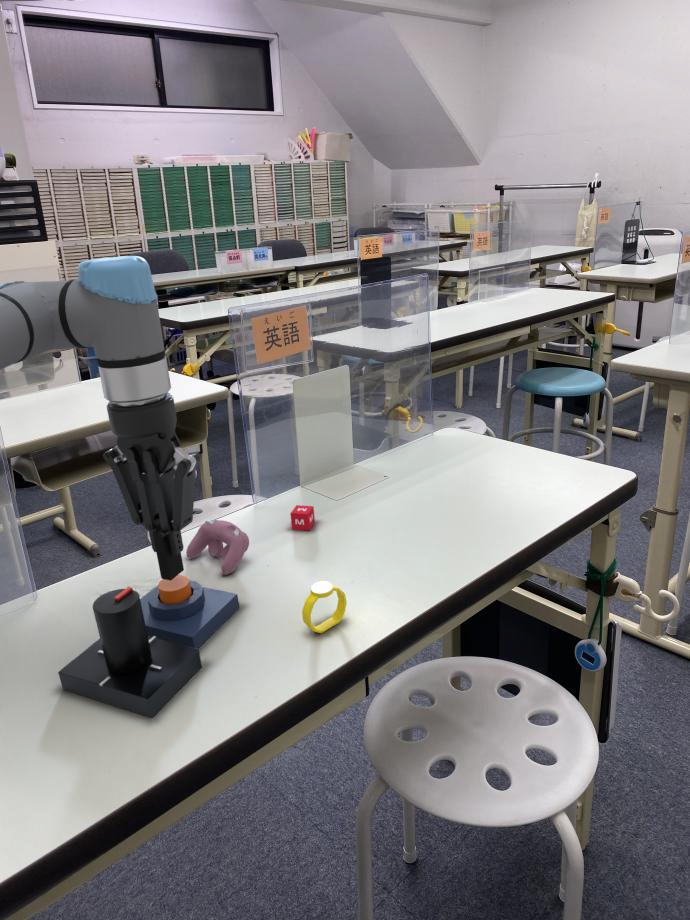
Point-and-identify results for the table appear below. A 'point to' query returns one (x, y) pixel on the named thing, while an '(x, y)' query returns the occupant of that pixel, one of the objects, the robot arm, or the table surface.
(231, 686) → the table surface
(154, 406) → the robot arm
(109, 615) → the dial
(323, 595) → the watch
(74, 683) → the dial panel
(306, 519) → the red letter cube
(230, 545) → the video game controller
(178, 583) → the button
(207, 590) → the button base
